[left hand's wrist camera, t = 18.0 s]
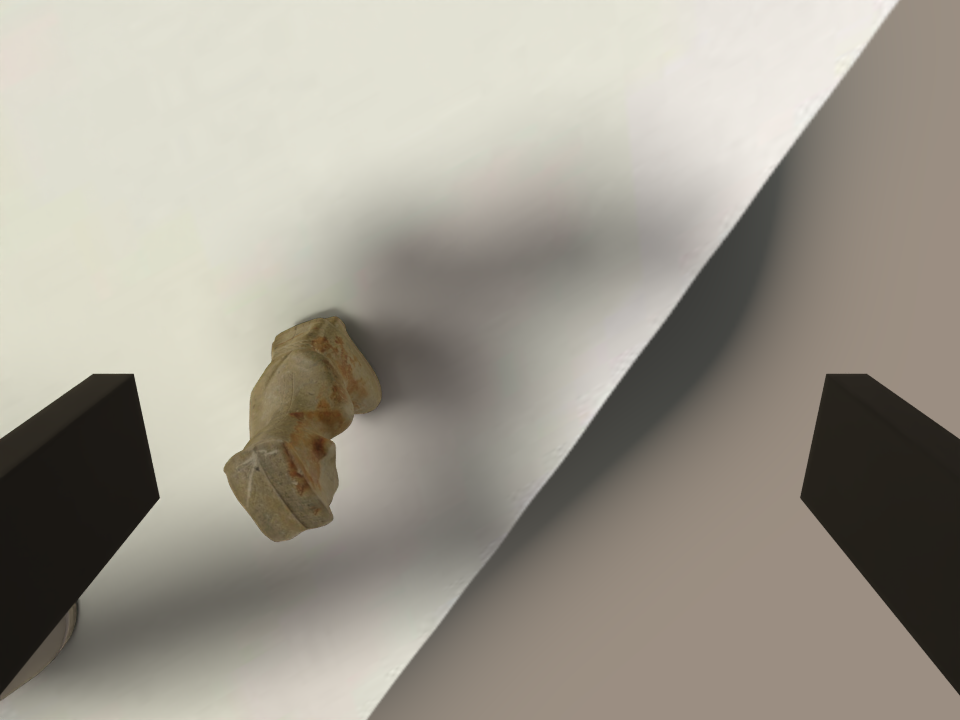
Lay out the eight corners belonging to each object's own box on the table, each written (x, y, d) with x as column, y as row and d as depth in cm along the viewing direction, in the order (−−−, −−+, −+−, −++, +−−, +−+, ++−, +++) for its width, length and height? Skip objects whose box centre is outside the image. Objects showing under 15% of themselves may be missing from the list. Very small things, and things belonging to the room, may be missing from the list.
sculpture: (318, 420, 44) (243, 567, 30) (270, 324, 42) (164, 436, 28) (398, 393, 43) (359, 531, 29) (354, 294, 41) (289, 394, 27)
